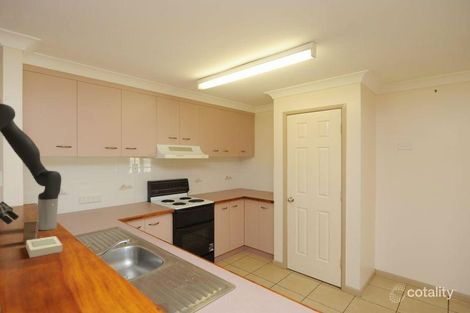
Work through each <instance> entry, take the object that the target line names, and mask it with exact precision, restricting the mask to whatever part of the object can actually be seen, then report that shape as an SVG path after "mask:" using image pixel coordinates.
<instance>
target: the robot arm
mask: <svg viewBox="0 0 470 313" xmlns="http://www.w3.org/2000/svg"><path fill="white" fill-rule="evenodd" d="M15 117H16V110H15V109H14V108H13V107H12V106H10V105H8V104H5V103H0V133H1V134H2V136H3V137H4V139H5V140H6V142H7V144H8V145H9V146H10V148H11V149H12V150H13V151H14V153H15V155H17V156H18V158H19V159H20V160H21V161H22V163H23V164H24V165H25V167H26V168H27V169H28V171H29V172H30V174H31V175H32V178H33V179H34V180H35V182H36V184H38V185H39V186H40V187H44V190H43V191H42V192H40V193H39V194H38V195H37V210H36V211H37V213H36V214H37V215H36V220H39V224H38V231H49V230H54V229H57V221H58V207H59V206H58V205H59V204H58V203H59V195H60V193H61V186H62V175H61V174H60V172H58V171H57V170H48V169H47V168H46V167H45V166H44V165H43V163H42V162H41V153H40V150H39V148H38V146H37V145H36V143H35V142H34V141H33V140H32V138H31V137H30V136H28V134H27V133H25V131H23V130H22V129H20V128H19V126H18V125H17V124H16V123H15V121H14V119H15ZM18 218H20V217H19V214H17V213H15V212H14V208H13V207H11V206H10V205H8V204H7V203H6V202H4V201H0V220H1V221H3V222H4V223H5V224H7V225H9V224H11V223H12V222H13V220H14V221H16V220H17V219H18Z"/></svg>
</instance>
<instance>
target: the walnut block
mask: <svg viewBox="0 0 470 313" xmlns="http://www.w3.org/2000/svg"><path fill="white" fill-rule="evenodd" d="M38 224H39V220H37V219H31V220H30V219H28V220H25V221H24V222H23V238H22V245H26V240H33V239H39V230H38Z"/></svg>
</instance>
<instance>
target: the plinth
mask: <svg viewBox="0 0 470 313" xmlns="http://www.w3.org/2000/svg"><path fill="white" fill-rule="evenodd" d="M25 248H26V251H27V254H28V256H29V259H31V258H32V259H33V258H37V257H42V256H47V255H53V254H58V253H62V252H63V244H62V242H61V240H59V238H58V237H57V236H55V235H54V236H47V237H42V238H38V239H33V240H26V244H25Z"/></svg>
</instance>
